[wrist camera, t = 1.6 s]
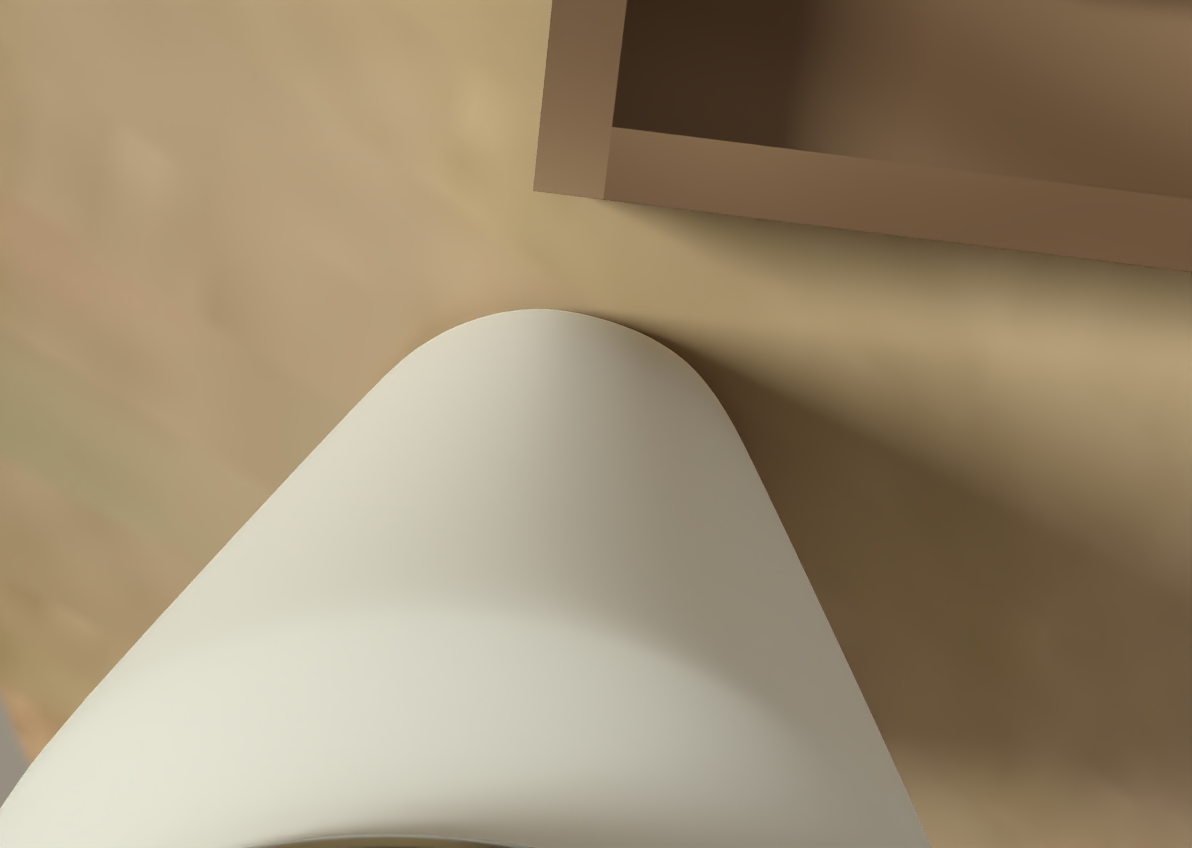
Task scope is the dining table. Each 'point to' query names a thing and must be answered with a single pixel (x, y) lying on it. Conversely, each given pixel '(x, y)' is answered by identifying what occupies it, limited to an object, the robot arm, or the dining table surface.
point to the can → (490, 636)
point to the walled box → (886, 117)
